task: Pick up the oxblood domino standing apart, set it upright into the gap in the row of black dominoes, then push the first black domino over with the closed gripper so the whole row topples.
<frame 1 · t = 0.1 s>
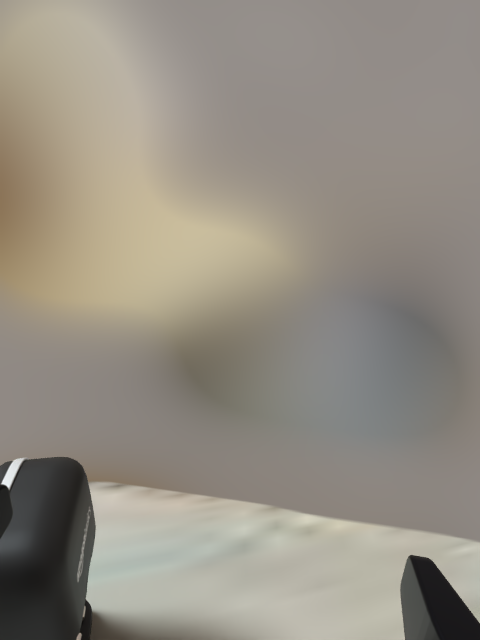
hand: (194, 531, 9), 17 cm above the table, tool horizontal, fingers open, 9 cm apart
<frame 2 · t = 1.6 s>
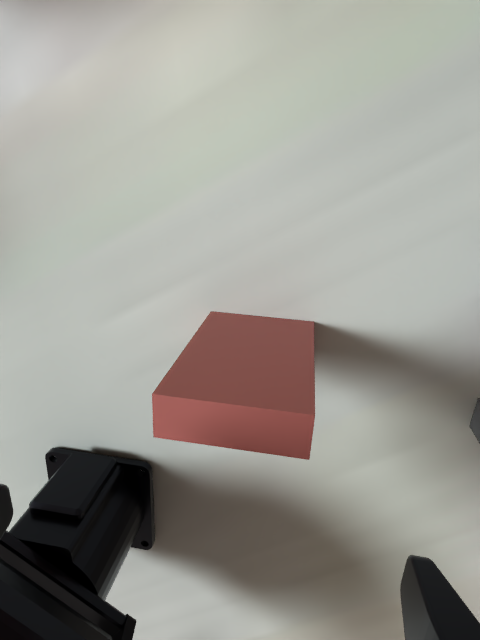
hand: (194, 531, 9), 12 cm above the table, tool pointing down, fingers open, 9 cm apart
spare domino: (260, 331, 20), on the table
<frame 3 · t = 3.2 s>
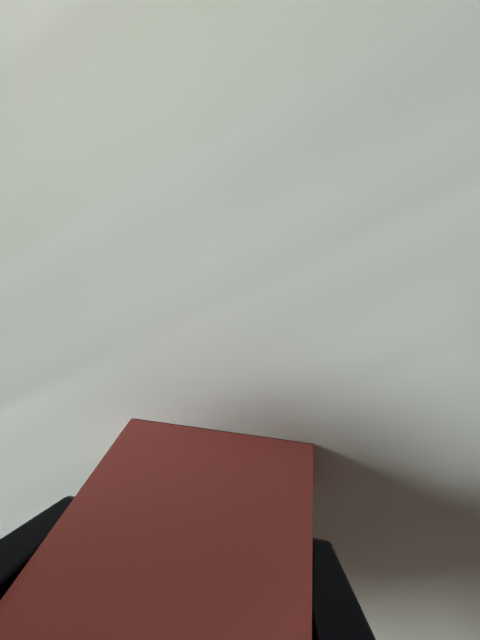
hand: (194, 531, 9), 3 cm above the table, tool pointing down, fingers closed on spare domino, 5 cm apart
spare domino: (218, 455, 11), on the table, touching gripper
when the fingers open (3 cm above the table, at t = 7.6 s): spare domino drops 1 cm, on the table.
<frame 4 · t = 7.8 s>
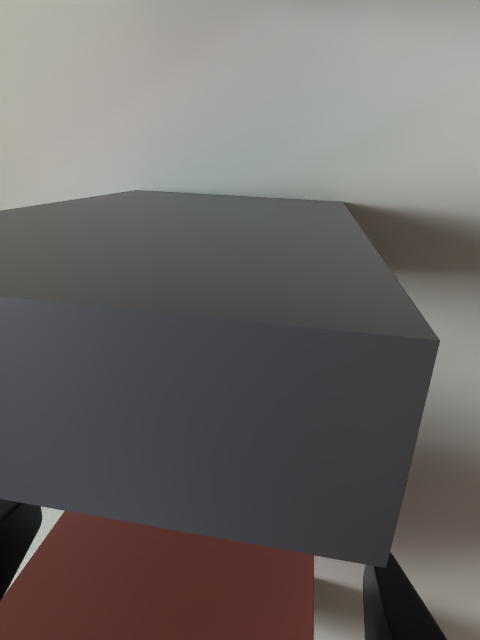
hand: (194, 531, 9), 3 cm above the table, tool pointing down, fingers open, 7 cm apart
domino 4: (234, 229, 10), on the table
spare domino: (226, 432, 12), on the table
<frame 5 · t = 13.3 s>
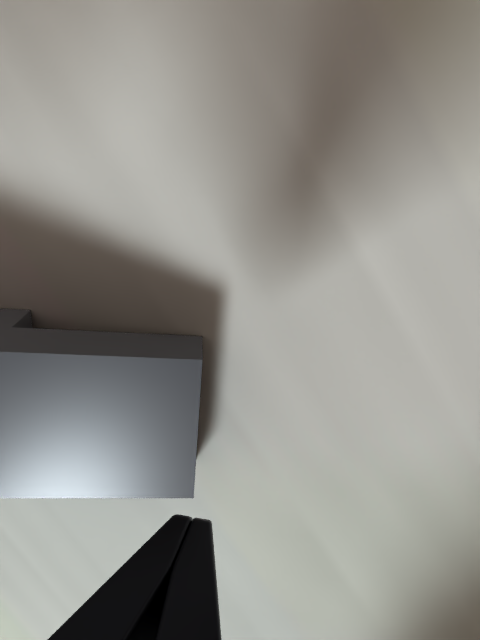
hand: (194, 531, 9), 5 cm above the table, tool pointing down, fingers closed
domino 1: (197, 418, 13), point 1 cm above the table, tilted 75°, touching domino 2
domino 2: (29, 387, 14), point 1 cm above the table, tilted 75°, touching domino 1, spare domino
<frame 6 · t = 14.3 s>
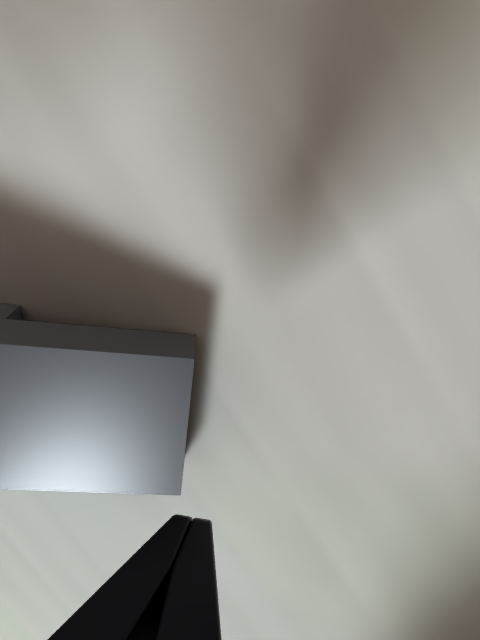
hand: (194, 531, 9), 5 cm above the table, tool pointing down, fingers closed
domino 1: (187, 416, 13), point 1 cm above the table, tilted 75°, touching domino 2
domino 2: (16, 382, 14), point 1 cm above the table, tilted 75°, touching domino 1, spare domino
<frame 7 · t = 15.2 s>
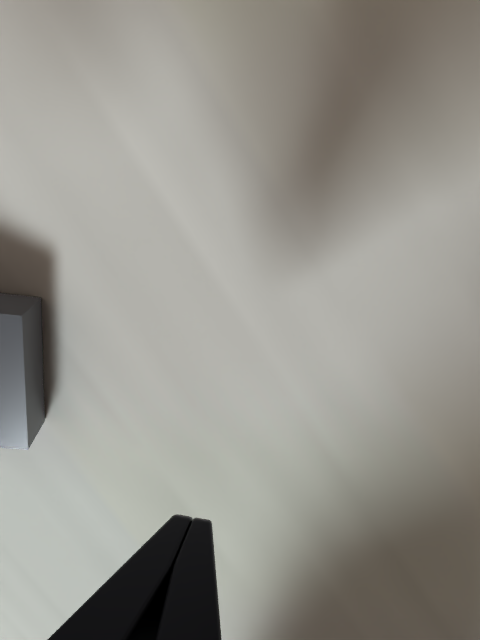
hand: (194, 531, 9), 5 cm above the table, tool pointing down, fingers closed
domino 1: (34, 374, 14), point 1 cm above the table, tilted 75°, touching domino 2
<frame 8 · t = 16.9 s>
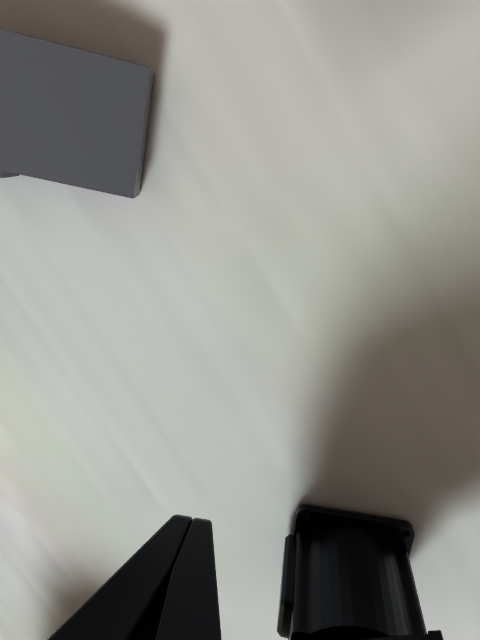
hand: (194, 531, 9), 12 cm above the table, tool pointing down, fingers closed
domino 1: (143, 136, 18), point 1 cm above the table, tilted 76°
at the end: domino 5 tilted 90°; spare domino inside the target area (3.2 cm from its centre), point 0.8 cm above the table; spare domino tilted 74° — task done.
